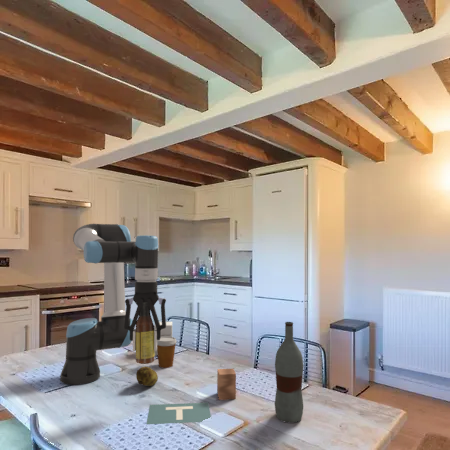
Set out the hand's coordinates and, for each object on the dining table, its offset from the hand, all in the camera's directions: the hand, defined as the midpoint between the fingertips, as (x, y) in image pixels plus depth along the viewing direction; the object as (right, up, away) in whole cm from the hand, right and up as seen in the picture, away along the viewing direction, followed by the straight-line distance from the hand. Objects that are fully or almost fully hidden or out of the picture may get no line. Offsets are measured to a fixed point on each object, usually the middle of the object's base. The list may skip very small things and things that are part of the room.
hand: (145, 349), depth 126 cm
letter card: (+12, -19, -4) cm, 23 cm away
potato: (-3, -21, +20) cm, 29 cm away
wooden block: (+27, -20, +10) cm, 36 cm away
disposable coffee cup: (0, -22, +44) cm, 49 cm away
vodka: (+47, -20, -5) cm, 52 cm away
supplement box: (-4, -23, +64) cm, 68 cm away
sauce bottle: (0, -4, 0) cm, 4 cm away
